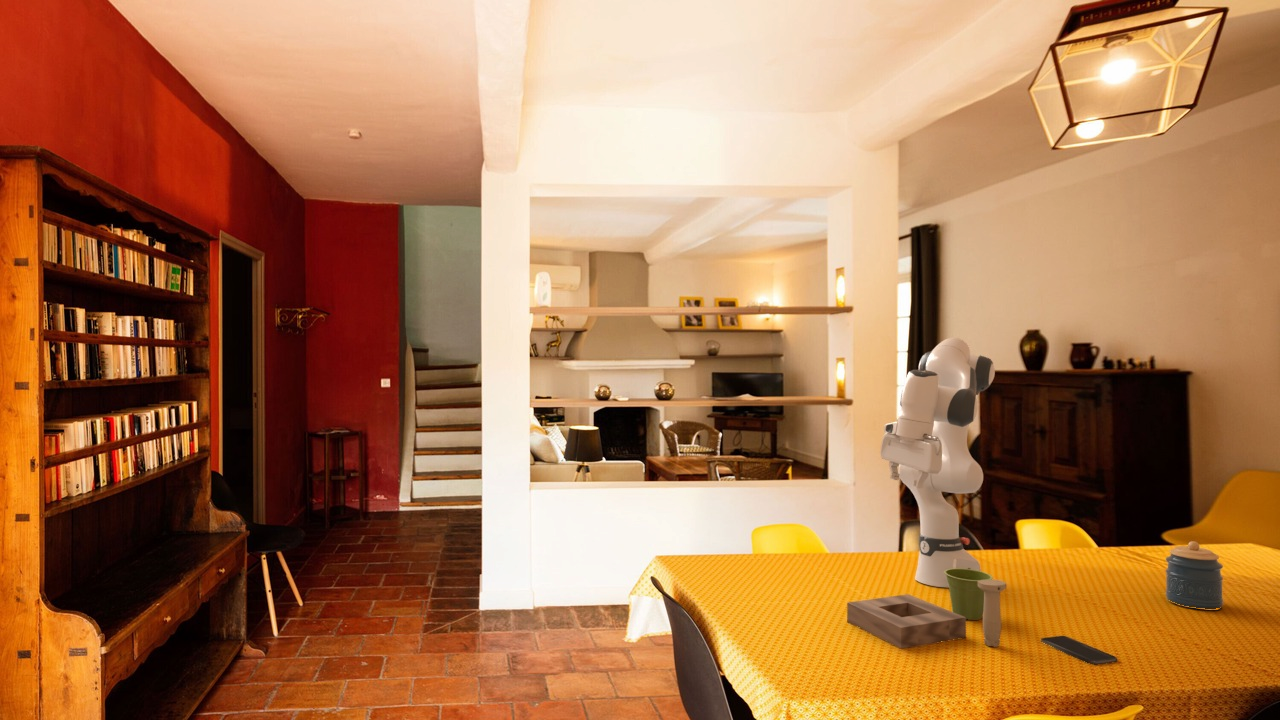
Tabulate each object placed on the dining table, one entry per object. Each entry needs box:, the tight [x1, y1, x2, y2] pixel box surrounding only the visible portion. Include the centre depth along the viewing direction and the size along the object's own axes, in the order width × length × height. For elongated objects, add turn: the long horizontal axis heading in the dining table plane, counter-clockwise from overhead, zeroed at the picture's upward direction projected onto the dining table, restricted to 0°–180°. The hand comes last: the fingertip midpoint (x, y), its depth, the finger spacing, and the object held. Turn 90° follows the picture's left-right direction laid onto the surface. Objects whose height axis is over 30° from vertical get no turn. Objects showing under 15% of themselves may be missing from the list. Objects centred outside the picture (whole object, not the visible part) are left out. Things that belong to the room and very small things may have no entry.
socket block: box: [846, 594, 967, 650], centre depth 187 cm, size 20×20×5 cm
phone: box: [1040, 635, 1118, 666], centre depth 173 cm, size 8×1×15 cm
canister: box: [1165, 540, 1224, 609], centre depth 209 cm, size 13×13×18 cm
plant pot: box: [944, 568, 994, 621], centre depth 198 cm, size 12×12×11 cm
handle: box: [978, 579, 1007, 648], centre depth 177 cm, size 5×6×15 cm
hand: (905, 483), depth 194 cm, fingers open, 8 cm apart
